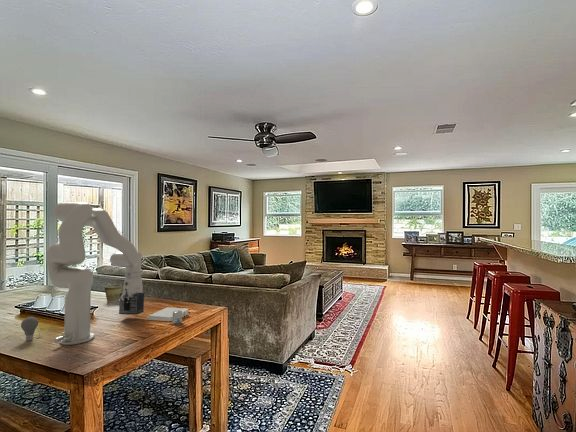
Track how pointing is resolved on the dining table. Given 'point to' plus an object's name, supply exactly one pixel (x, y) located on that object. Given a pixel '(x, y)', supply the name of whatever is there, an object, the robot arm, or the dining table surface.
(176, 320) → the round metal knob
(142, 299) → the small box
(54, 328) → the dining table surface
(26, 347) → the dining table surface
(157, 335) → the dining table surface
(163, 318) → the scale
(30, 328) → the light bulb
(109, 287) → the olive flower pot
